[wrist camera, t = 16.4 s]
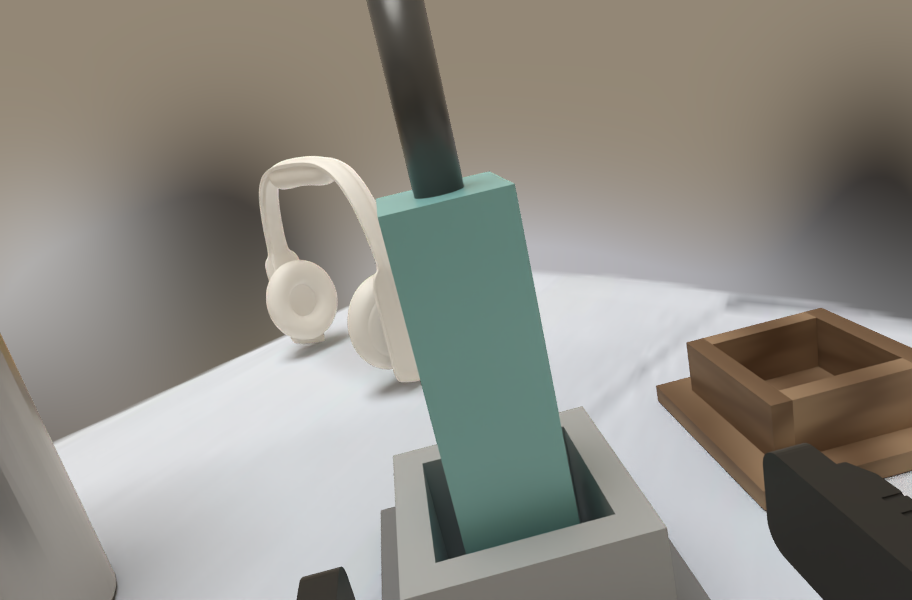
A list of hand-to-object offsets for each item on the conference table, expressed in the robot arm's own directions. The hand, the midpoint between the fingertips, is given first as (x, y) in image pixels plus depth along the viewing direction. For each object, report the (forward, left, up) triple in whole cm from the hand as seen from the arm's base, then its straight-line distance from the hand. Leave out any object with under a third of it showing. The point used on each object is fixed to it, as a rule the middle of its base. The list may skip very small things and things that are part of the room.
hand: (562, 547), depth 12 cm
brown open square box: (-9, +22, -12) cm, 27 cm away
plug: (-9, +4, -11) cm, 15 cm away
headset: (-41, +10, -12) cm, 44 cm away
